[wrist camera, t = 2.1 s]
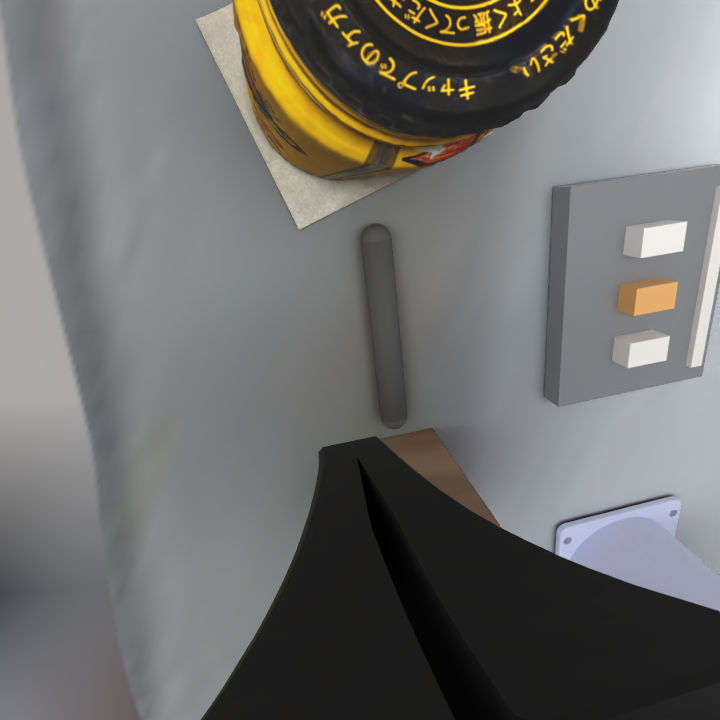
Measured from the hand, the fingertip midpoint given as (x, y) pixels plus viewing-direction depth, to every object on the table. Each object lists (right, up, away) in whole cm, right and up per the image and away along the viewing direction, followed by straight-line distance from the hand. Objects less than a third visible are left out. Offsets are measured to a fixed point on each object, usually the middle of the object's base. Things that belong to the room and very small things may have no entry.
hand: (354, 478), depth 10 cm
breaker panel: (+13, +6, +11) cm, 18 cm away
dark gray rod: (+1, +4, +10) cm, 10 cm away
